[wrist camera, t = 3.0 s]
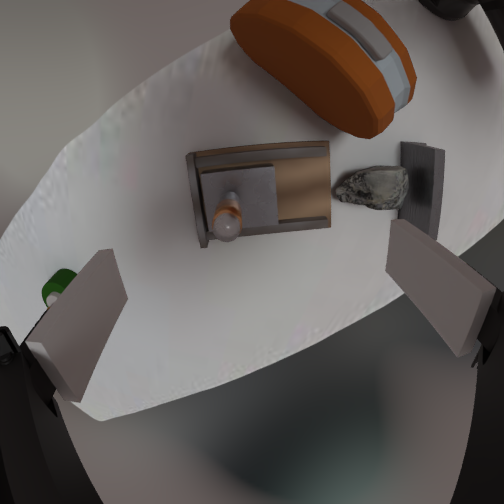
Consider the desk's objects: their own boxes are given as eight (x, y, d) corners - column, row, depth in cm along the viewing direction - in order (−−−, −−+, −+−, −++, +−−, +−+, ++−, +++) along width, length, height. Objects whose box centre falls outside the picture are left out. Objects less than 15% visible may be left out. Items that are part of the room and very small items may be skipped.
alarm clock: (377, 96, 38) (473, 91, 17) (339, 136, 41) (422, 155, 20) (272, 4, 31) (299, -76, 11) (229, 44, 34) (221, -24, 14)
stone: (382, 232, 37) (418, 171, 33) (326, 194, 41) (358, 136, 37) (390, 230, 45) (418, 181, 41) (343, 199, 49) (370, 151, 45)
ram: (203, 170, 41) (186, 193, 28) (271, 162, 41) (287, 182, 28) (211, 223, 45) (199, 268, 31) (275, 216, 45) (291, 259, 31)
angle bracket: (400, 141, 41) (434, 149, 32) (423, 142, 41) (458, 151, 32) (397, 219, 47) (427, 241, 38) (419, 217, 47) (449, 238, 38)
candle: (77, 309, 53) (57, 339, 44) (49, 284, 50) (26, 311, 41) (92, 288, 51) (71, 318, 42) (63, 260, 48) (37, 287, 39)
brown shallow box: (189, 152, 41) (184, 155, 37) (326, 140, 41) (335, 142, 37) (202, 237, 47) (199, 248, 43) (328, 224, 47) (336, 234, 43)
